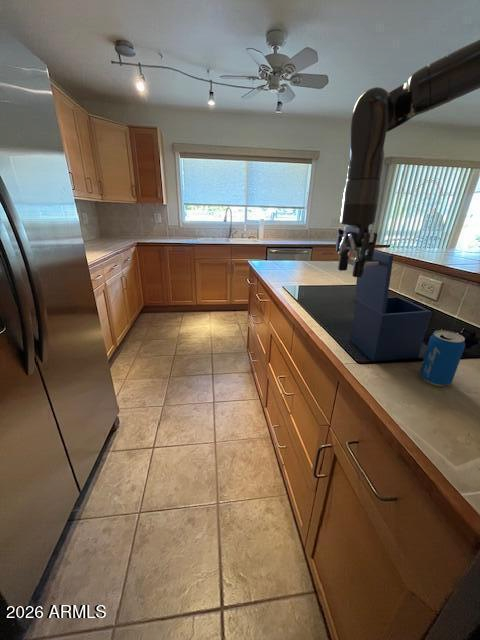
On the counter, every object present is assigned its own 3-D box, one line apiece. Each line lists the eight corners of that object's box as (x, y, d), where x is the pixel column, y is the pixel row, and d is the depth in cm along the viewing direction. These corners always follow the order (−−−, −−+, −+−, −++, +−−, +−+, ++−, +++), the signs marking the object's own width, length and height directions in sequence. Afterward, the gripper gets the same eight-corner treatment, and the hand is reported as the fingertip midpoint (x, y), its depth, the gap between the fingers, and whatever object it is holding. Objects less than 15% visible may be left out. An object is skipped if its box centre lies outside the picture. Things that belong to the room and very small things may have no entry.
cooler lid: (362, 247, 71) (341, 250, 71) (393, 255, 60) (369, 258, 59) (358, 297, 77) (338, 299, 77) (385, 312, 66) (362, 316, 65)
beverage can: (412, 374, 66) (424, 332, 61) (431, 369, 67) (445, 327, 62) (437, 390, 60) (452, 344, 55) (457, 384, 62) (474, 339, 57)
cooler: (389, 336, 84) (398, 296, 79) (418, 357, 73) (431, 311, 67) (349, 340, 83) (356, 299, 77) (373, 361, 71) (383, 315, 66)
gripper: (396, 201, 54) (380, 279, 61) (358, 202, 67) (348, 266, 74) (362, 202, 53) (349, 281, 60) (330, 203, 66) (323, 268, 73)
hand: (349, 273), depth 67 cm, fingers open, 6 cm apart
